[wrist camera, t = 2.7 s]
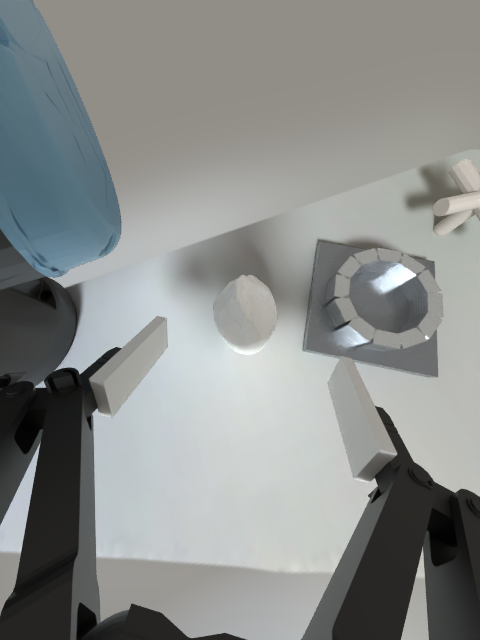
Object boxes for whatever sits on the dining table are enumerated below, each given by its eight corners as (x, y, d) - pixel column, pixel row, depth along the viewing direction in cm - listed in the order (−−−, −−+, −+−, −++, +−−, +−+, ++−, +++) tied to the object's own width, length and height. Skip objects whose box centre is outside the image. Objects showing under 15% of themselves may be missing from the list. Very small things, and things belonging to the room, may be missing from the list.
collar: (302, 350, 24) (313, 346, 21) (316, 246, 28) (327, 227, 24) (428, 377, 23) (462, 377, 20) (426, 266, 27) (454, 249, 23)
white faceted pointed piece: (304, 324, 13) (213, 346, 12) (274, 349, 24) (227, 360, 24) (277, 241, 14) (195, 258, 14) (261, 301, 26) (216, 311, 25)
